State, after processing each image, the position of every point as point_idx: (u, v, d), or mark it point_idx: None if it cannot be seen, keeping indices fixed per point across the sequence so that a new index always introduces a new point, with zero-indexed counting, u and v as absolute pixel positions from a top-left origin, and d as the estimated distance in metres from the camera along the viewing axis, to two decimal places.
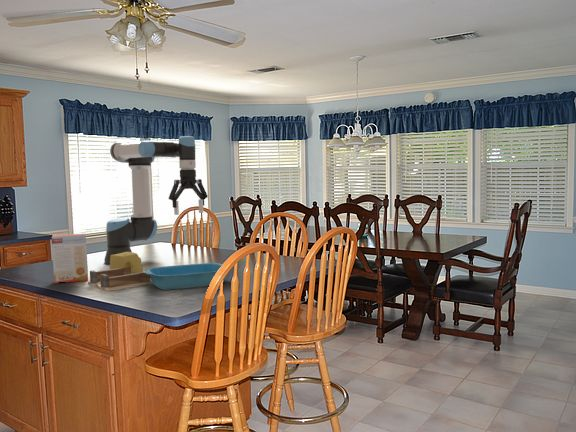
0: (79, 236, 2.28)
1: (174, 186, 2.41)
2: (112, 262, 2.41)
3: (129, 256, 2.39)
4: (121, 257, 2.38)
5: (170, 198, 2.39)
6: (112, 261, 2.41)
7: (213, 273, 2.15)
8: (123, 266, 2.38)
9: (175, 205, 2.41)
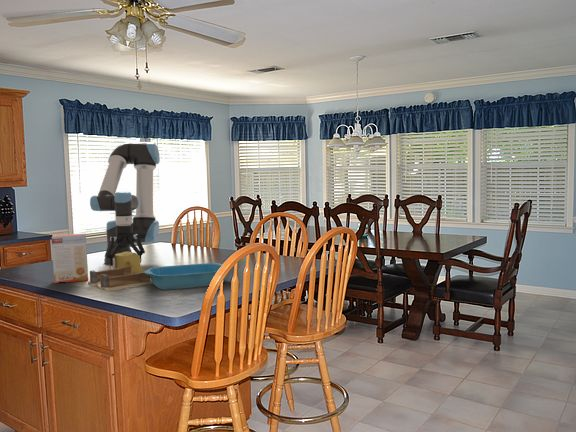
0: (79, 236, 2.28)
1: (109, 244, 2.38)
2: None
3: (129, 256, 2.39)
4: (120, 257, 2.38)
5: (106, 256, 2.36)
6: None
7: (212, 273, 2.15)
8: (122, 266, 2.37)
9: (112, 263, 2.38)
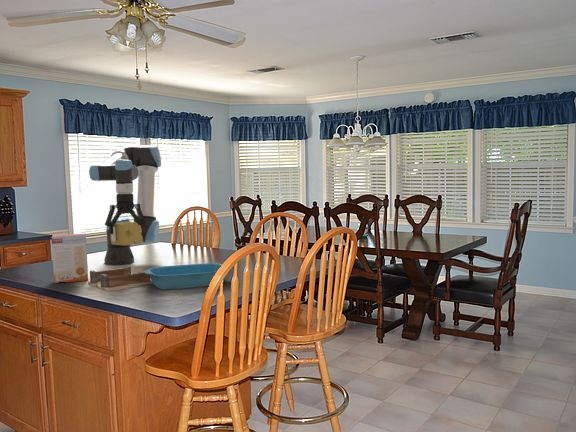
0: (79, 236, 2.28)
1: (110, 212, 2.35)
2: None
3: (129, 224, 2.36)
4: (121, 225, 2.35)
5: (106, 224, 2.33)
6: None
7: (212, 273, 2.15)
8: (123, 234, 2.34)
9: (112, 231, 2.35)
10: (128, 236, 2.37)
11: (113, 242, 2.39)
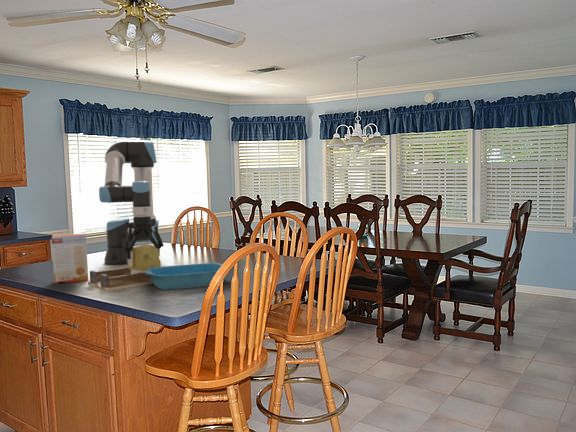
0: (79, 236, 2.28)
1: (127, 236, 2.25)
2: None
3: (147, 249, 2.27)
4: (139, 249, 2.25)
5: (123, 249, 2.24)
6: None
7: (213, 273, 2.15)
8: (141, 259, 2.25)
9: (130, 256, 2.26)
10: (146, 261, 2.28)
11: (130, 267, 2.29)
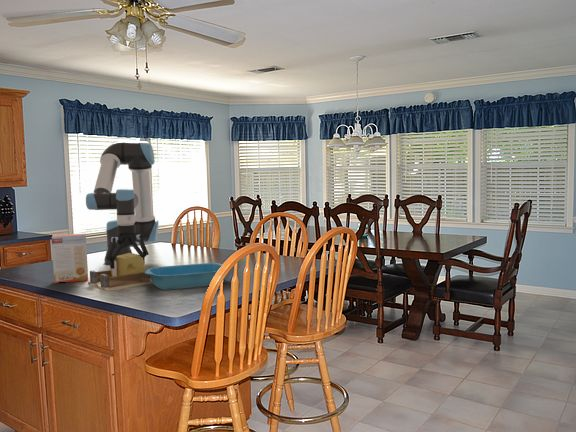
0: (79, 236, 2.28)
1: (111, 245, 2.20)
2: None
3: (131, 258, 2.22)
4: (123, 259, 2.21)
5: (107, 259, 2.19)
6: None
7: (213, 273, 2.15)
8: (125, 269, 2.20)
9: (113, 265, 2.21)
10: (130, 270, 2.23)
11: (114, 276, 2.24)
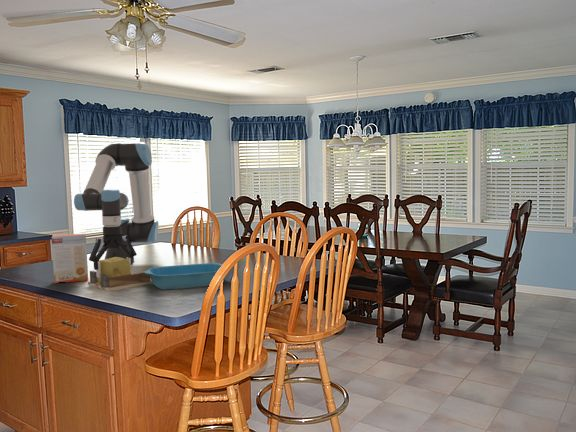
0: (79, 236, 2.28)
1: (95, 246, 2.16)
2: None
3: (117, 262, 2.18)
4: (108, 263, 2.16)
5: (90, 260, 2.14)
6: None
7: (212, 273, 2.15)
8: (110, 273, 2.16)
9: (97, 267, 2.16)
10: (116, 274, 2.19)
11: (100, 281, 2.20)
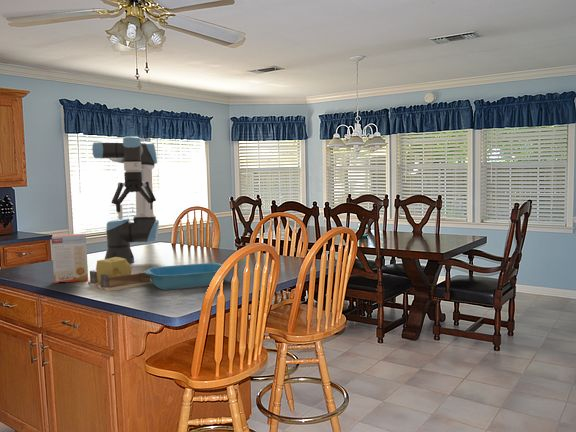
0: (79, 236, 2.28)
1: (117, 189, 2.29)
2: (98, 268, 2.19)
3: (117, 262, 2.18)
4: (108, 263, 2.16)
5: (113, 202, 2.27)
6: (98, 267, 2.19)
7: (213, 273, 2.15)
8: (110, 273, 2.16)
9: (119, 209, 2.29)
10: (116, 274, 2.19)
11: (100, 281, 2.20)
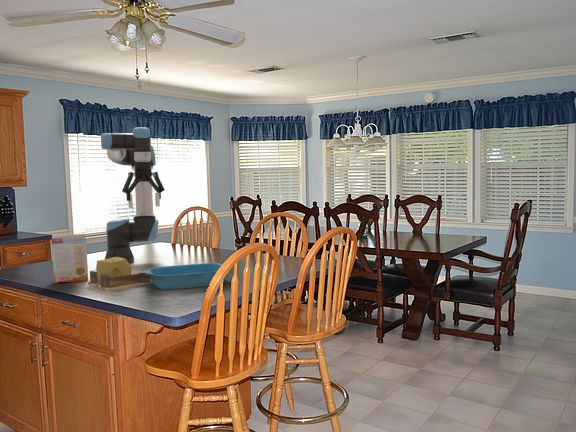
0: (79, 236, 2.28)
1: (128, 179, 2.35)
2: (98, 268, 2.19)
3: (117, 262, 2.18)
4: (108, 263, 2.16)
5: (123, 191, 2.33)
6: (98, 267, 2.19)
7: (213, 273, 2.15)
8: (110, 273, 2.16)
9: (129, 198, 2.35)
10: (116, 274, 2.19)
11: (100, 281, 2.20)
